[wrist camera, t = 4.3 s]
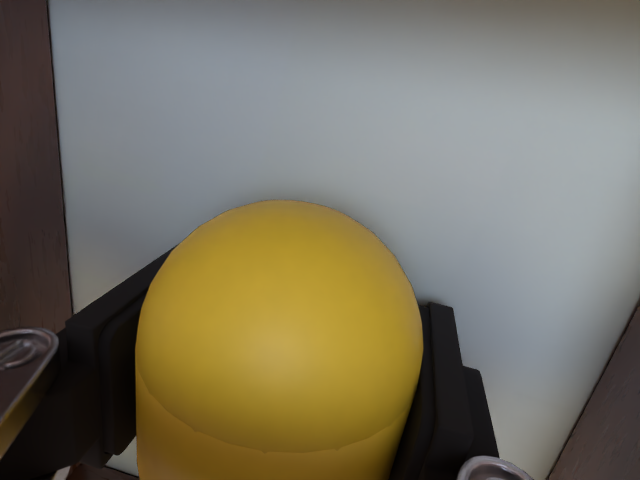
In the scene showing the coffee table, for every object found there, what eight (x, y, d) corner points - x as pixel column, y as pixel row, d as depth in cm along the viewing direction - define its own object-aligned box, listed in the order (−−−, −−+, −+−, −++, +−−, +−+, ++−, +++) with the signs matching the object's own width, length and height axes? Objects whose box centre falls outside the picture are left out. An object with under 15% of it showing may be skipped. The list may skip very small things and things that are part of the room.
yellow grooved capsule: (223, 154, 10) (39, 221, 5) (447, 200, 9) (484, 331, 4) (206, 403, 13) (79, 596, 8) (375, 453, 12) (349, 699, 7)
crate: (3, -136, 9) (-243, -268, 5) (877, -38, 6) (1336, -158, 3) (67, 468, 15) (-26, 571, 12) (505, 616, 13) (534, 788, 10)
